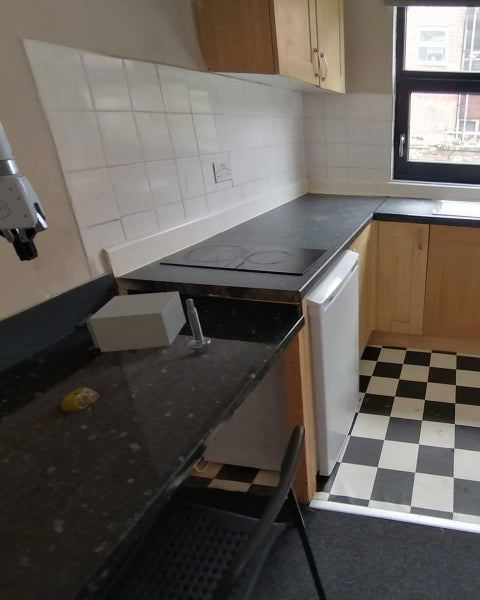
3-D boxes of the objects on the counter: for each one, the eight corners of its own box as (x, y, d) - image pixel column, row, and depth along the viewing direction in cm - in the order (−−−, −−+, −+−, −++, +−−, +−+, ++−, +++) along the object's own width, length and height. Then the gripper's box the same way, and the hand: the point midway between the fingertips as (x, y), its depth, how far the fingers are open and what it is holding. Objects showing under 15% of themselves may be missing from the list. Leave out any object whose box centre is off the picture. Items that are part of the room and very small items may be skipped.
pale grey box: (101, 352, 91) (88, 318, 88) (125, 326, 103) (114, 296, 99) (170, 345, 94) (161, 312, 90) (186, 321, 105) (178, 291, 102)
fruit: (106, 420, 71) (99, 403, 69) (52, 426, 69) (44, 409, 68) (125, 391, 78) (120, 375, 76) (77, 397, 77) (70, 381, 75)
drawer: (74, 350, 91) (63, 323, 88) (98, 326, 101) (90, 302, 98) (159, 342, 94) (152, 316, 91) (175, 320, 104) (168, 296, 101)
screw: (214, 352, 91) (190, 358, 89) (211, 343, 95) (188, 348, 93) (202, 300, 86) (176, 305, 83) (199, 292, 89) (175, 296, 87)
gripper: (-68, 173, 74) (-24, 267, 82) (24, 171, 77) (58, 262, 84) (-36, 169, 81) (2, 256, 89) (47, 167, 84) (77, 251, 91)
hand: (29, 258), depth 87 cm, fingers closed
